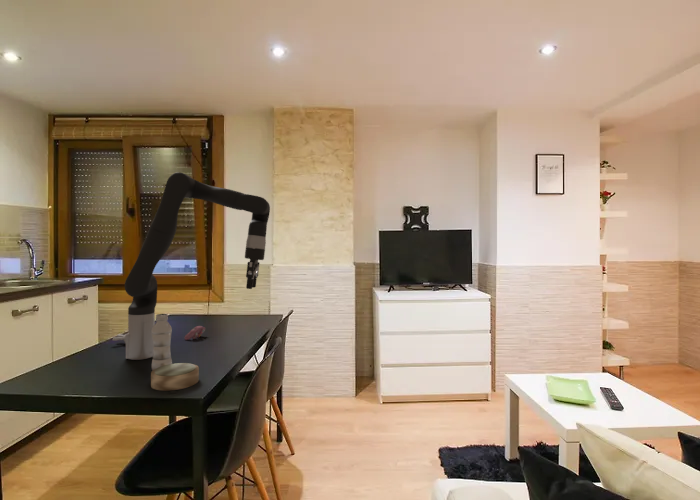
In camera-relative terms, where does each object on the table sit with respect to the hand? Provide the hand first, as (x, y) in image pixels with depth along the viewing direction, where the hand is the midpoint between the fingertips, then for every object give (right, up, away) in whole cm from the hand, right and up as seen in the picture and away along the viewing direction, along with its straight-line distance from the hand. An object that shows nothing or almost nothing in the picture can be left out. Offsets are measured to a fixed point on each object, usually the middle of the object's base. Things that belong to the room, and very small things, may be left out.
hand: (251, 288), depth 155 cm
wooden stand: (-17, -27, -30) cm, 44 cm away
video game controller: (-35, -27, +32) cm, 54 cm away
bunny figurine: (-58, -27, +20) cm, 67 cm away
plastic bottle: (-26, -28, -19) cm, 43 cm away
